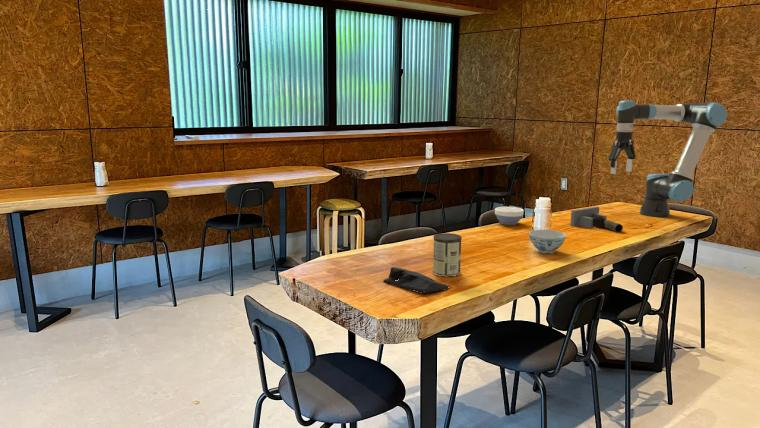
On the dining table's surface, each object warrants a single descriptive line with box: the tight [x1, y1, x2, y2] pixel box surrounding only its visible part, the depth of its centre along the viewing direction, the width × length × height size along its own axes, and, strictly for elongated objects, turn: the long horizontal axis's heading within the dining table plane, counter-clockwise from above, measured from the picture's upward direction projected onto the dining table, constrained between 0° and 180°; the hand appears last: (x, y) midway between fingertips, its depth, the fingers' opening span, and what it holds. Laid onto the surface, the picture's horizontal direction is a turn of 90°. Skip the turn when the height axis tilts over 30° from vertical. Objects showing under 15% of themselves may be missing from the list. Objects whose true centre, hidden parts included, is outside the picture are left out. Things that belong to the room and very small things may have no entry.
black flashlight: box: [593, 216, 624, 233], centre depth 276 cm, size 18×7×6 cm, turn 19°
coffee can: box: [432, 232, 463, 277], centre depth 204 cm, size 10×10×14 cm
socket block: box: [570, 206, 607, 229], centre depth 283 cm, size 20×9×8 cm, turn 123°
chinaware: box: [528, 229, 567, 254], centre depth 234 cm, size 15×15×8 cm
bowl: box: [494, 206, 525, 226], centre depth 285 cm, size 14×14×8 cm
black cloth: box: [383, 266, 450, 294], centre depth 192 cm, size 15×22×5 cm
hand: (621, 172), depth 285 cm, fingers open, 13 cm apart
